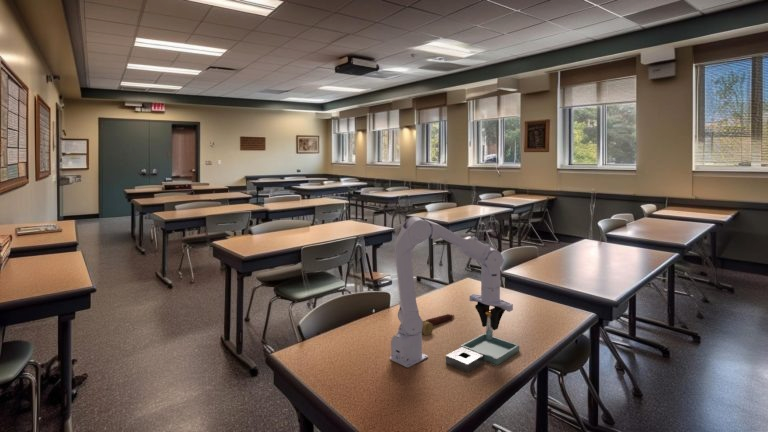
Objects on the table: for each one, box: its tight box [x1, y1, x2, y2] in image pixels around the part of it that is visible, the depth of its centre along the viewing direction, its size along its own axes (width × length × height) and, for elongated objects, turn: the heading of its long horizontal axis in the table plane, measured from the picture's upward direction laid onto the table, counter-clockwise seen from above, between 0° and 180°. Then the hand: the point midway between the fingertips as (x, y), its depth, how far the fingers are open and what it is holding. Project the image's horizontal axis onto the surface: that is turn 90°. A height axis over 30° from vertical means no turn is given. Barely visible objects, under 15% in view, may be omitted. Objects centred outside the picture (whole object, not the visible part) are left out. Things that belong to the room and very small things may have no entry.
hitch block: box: [445, 347, 485, 373], centre depth 124 cm, size 8×8×2 cm
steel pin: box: [485, 309, 494, 339], centre depth 130 cm, size 3×3×9 cm
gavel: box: [422, 313, 455, 336], centre depth 154 cm, size 21×5×10 cm
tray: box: [459, 332, 520, 367], centre depth 132 cm, size 13×13×2 cm
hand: (490, 327), depth 131 cm, fingers closed on steel pin, 3 cm apart
